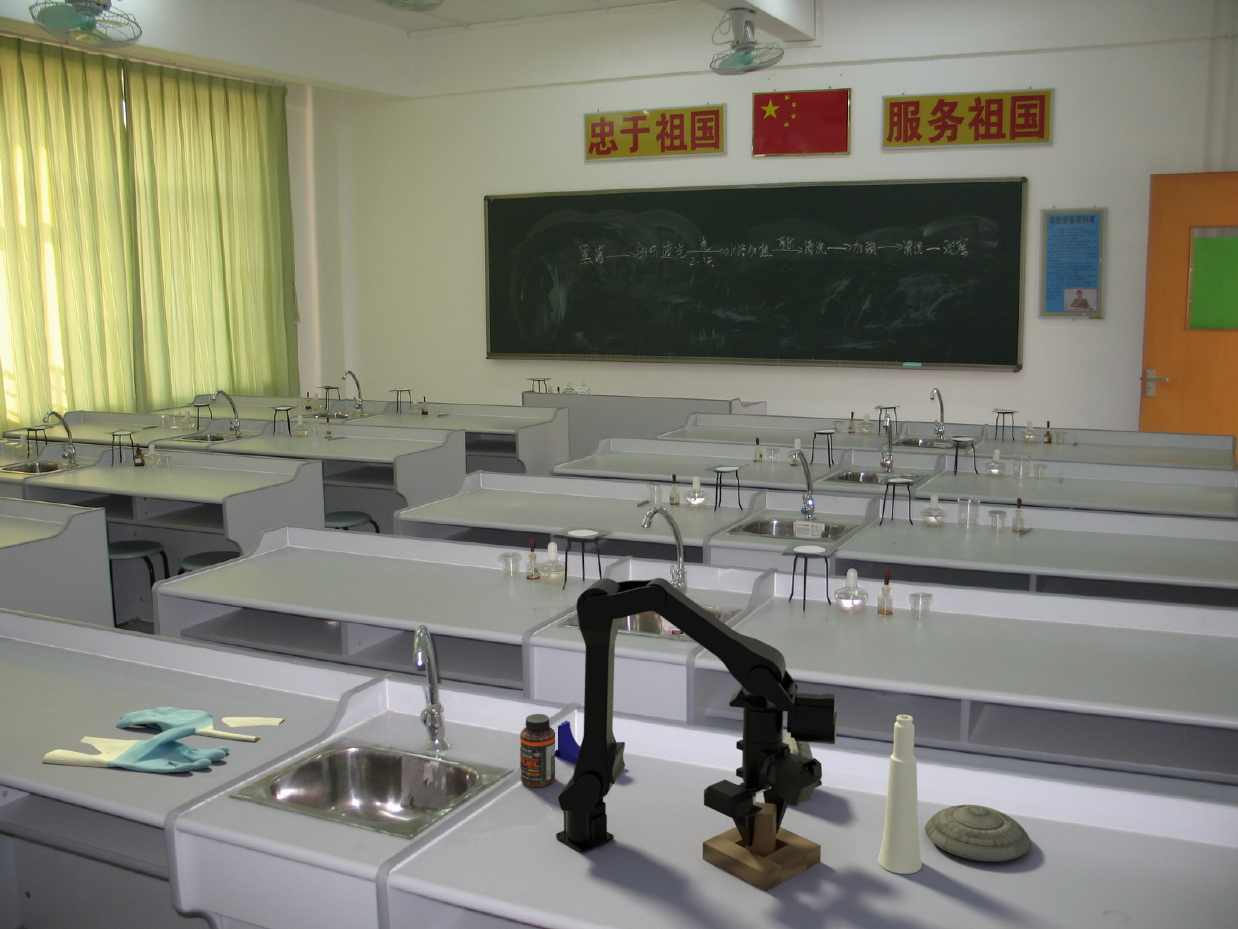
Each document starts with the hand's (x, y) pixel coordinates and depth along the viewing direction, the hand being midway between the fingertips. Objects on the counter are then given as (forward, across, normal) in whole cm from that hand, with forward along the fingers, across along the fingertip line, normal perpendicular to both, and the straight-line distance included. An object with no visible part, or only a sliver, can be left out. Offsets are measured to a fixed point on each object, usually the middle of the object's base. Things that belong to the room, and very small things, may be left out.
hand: (761, 839), depth 154 cm
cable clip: (+4, +4, +44) cm, 44 cm away
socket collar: (+3, 0, 0) cm, 3 cm away
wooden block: (+3, 0, 0) cm, 3 cm away
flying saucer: (+4, +28, -18) cm, 34 cm away
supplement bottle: (+3, -8, +43) cm, 44 cm away
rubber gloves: (+4, -48, +104) cm, 114 cm away
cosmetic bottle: (+3, +14, -14) cm, 20 cm away
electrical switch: (+3, +21, +12) cm, 24 cm away
